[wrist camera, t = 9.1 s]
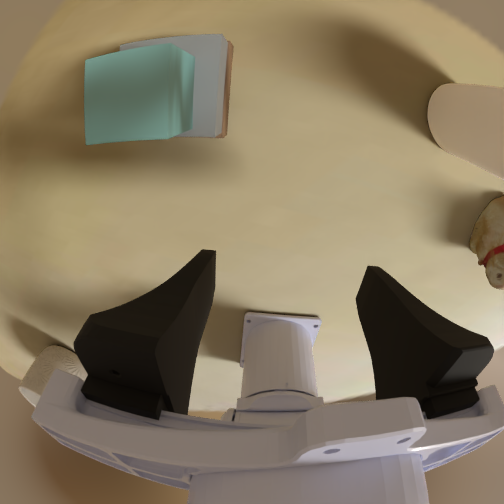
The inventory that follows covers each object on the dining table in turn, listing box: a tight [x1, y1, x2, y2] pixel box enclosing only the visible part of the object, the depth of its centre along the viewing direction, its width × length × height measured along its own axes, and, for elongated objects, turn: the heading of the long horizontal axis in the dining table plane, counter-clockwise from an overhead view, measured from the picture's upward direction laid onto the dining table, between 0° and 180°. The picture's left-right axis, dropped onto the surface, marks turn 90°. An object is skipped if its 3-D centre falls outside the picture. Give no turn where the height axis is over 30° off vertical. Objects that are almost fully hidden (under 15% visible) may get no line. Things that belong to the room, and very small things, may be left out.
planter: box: [18, 345, 88, 407], centre depth 33 cm, size 12×12×11 cm
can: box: [427, 83, 504, 180], centre depth 11 cm, size 6×6×12 cm
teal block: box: [84, 43, 195, 145], centre depth 12 cm, size 4×4×4 cm
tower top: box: [120, 34, 228, 137], centre depth 14 cm, size 6×6×2 cm
